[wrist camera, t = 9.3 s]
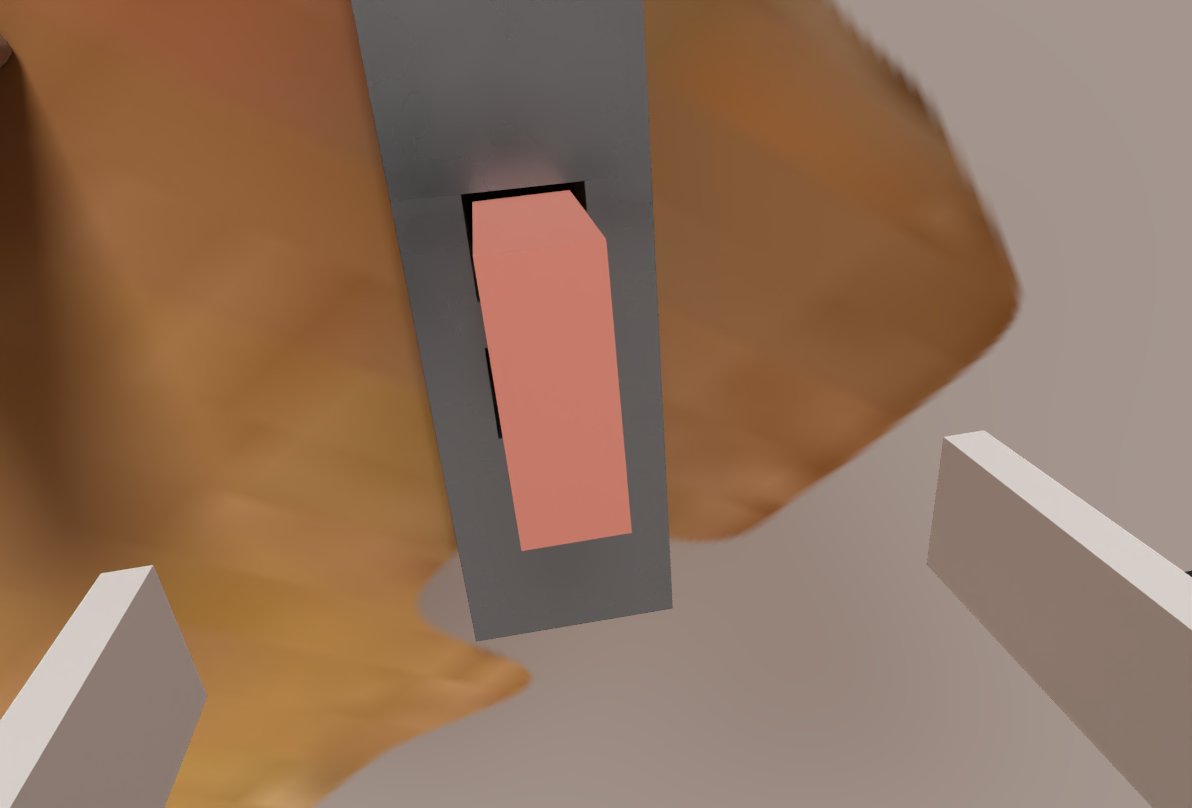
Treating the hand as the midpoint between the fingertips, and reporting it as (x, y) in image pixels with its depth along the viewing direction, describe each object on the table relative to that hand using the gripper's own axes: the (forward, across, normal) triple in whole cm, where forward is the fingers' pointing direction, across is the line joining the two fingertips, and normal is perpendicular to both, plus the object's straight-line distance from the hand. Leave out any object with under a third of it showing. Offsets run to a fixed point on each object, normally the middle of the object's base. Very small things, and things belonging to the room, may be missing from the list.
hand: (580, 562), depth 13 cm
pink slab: (+16, +1, 0) cm, 16 cm away
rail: (+16, +1, 0) cm, 16 cm away
